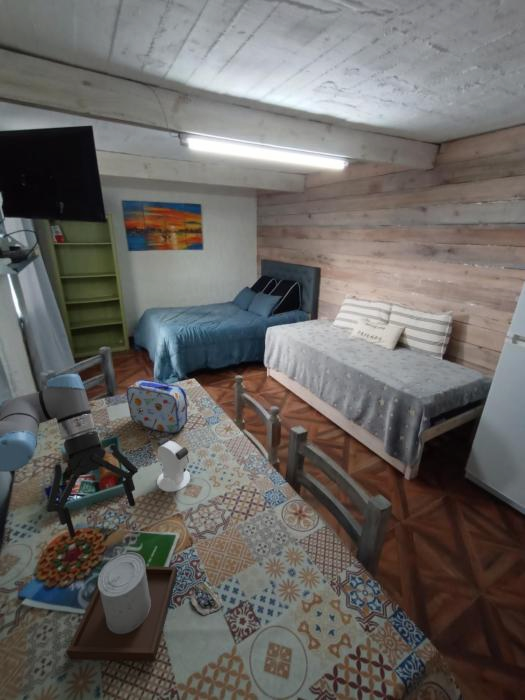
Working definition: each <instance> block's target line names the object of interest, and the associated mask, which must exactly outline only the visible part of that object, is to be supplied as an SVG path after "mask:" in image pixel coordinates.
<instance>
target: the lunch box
mask: <svg viewBox="0 0 525 700" xmlns="http://www.w3.org/2000/svg"><path fill="white" fill-rule="evenodd" d="M126 398H127V400H126V401H127V404H128V409H129V415H130V418H131V420H132V421H133V422H134V423H136V424H138V425H140V426H143V427H146V428H148V429H151V430H153V431H158V432H163V433H167V434H177V433H178V432H179V431H181V429H182V428H183V426H184V425H186V424H187V422H188V407H189V406H190V402H189V399H188V398H187V393H186V391H185V389H184V388H182V387H181V386H180V385H179V386H178V385H176V384H175V385H174V384H169V383H164V382H161V381H155V380H150V379H144V378H140V379H138V380H137V381H136V382H135V383H134V384H132V385H130V386H128V387H127V388H126Z"/></svg>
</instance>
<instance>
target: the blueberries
mask: <svg viewBox="0 0 525 700" xmlns="http://www.w3.org/2000/svg"><path fill="white" fill-rule="evenodd" d="M215 592H216V590H214V585H212V584H211V583H210V582H209V581H203V582H201V583H199V584H195V586H194V588H193V589H192V594H190V596H189V600H190V602H191V604H192V605H193V607H195V609H196V611H197V612H198V613H200V614H202V616H205V615H210V614H211V613H214V612H218V611H219V610H220V609H221V608H222V604H223V601H222V600H223V599H222V597H220V596H219V594H217V593H215Z"/></svg>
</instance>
